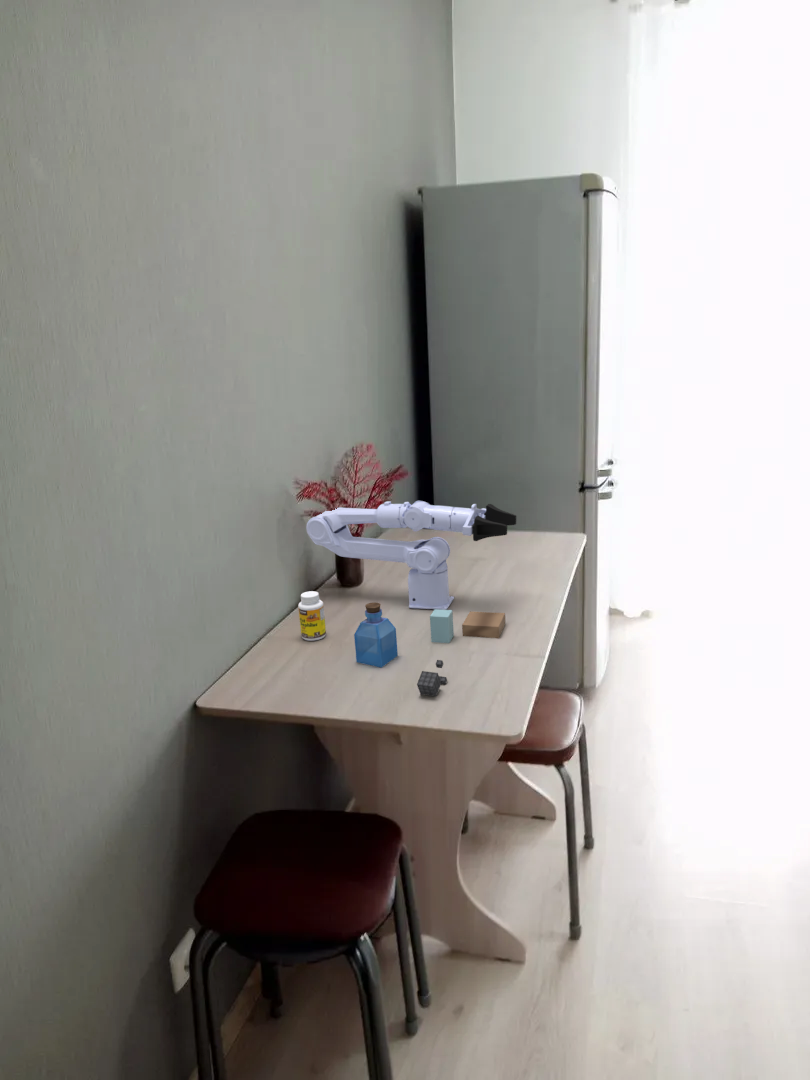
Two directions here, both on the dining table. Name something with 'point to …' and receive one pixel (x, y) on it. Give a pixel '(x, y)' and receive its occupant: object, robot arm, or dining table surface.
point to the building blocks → (431, 681)
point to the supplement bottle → (311, 616)
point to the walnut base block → (483, 624)
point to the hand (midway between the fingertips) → (511, 525)
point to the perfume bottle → (375, 638)
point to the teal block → (441, 626)
